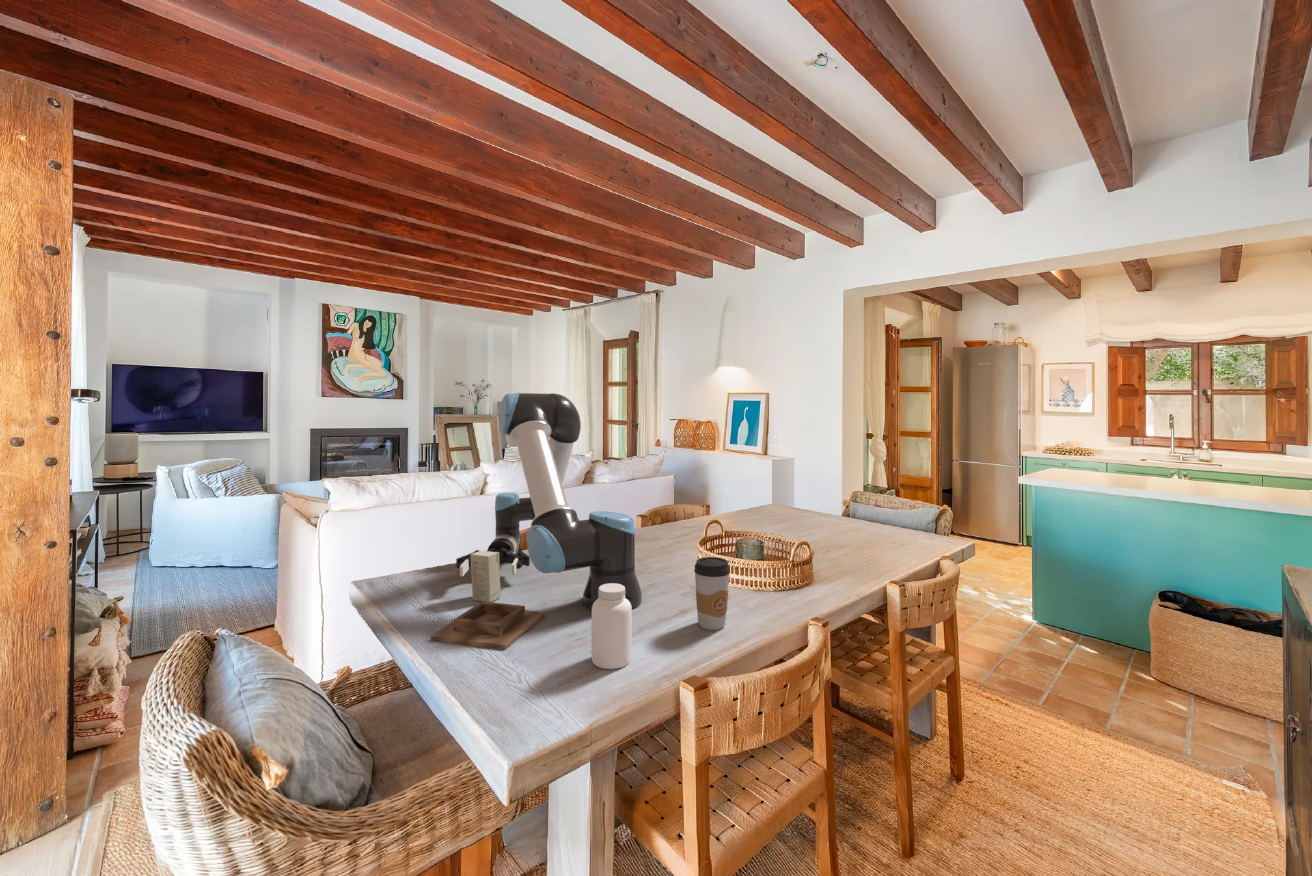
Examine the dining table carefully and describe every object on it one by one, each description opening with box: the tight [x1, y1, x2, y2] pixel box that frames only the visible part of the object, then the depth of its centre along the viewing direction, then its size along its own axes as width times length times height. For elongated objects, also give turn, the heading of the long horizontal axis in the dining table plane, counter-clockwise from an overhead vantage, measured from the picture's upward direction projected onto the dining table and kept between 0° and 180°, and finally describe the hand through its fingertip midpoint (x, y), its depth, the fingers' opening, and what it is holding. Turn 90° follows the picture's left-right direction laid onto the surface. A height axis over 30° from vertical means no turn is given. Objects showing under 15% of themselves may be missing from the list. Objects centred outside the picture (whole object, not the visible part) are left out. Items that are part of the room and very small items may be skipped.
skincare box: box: [470, 550, 502, 603], centre depth 139 cm, size 6×4×12 cm
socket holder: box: [430, 601, 545, 650], centre depth 122 cm, size 18×18×4 cm
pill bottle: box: [590, 583, 633, 670], centre depth 106 cm, size 8×8×15 cm
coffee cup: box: [694, 556, 731, 631], centre depth 123 cm, size 8×8×15 cm
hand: (487, 570), depth 143 cm, fingers open, 13 cm apart
